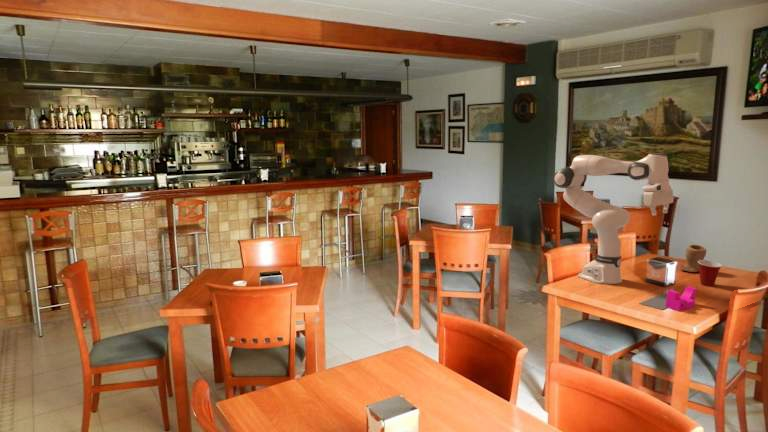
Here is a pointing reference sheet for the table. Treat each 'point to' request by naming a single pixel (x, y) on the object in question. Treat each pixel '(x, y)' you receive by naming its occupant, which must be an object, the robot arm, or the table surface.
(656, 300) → the rubber mat
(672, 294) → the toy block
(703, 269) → the plastic cup
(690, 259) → the stone cup
